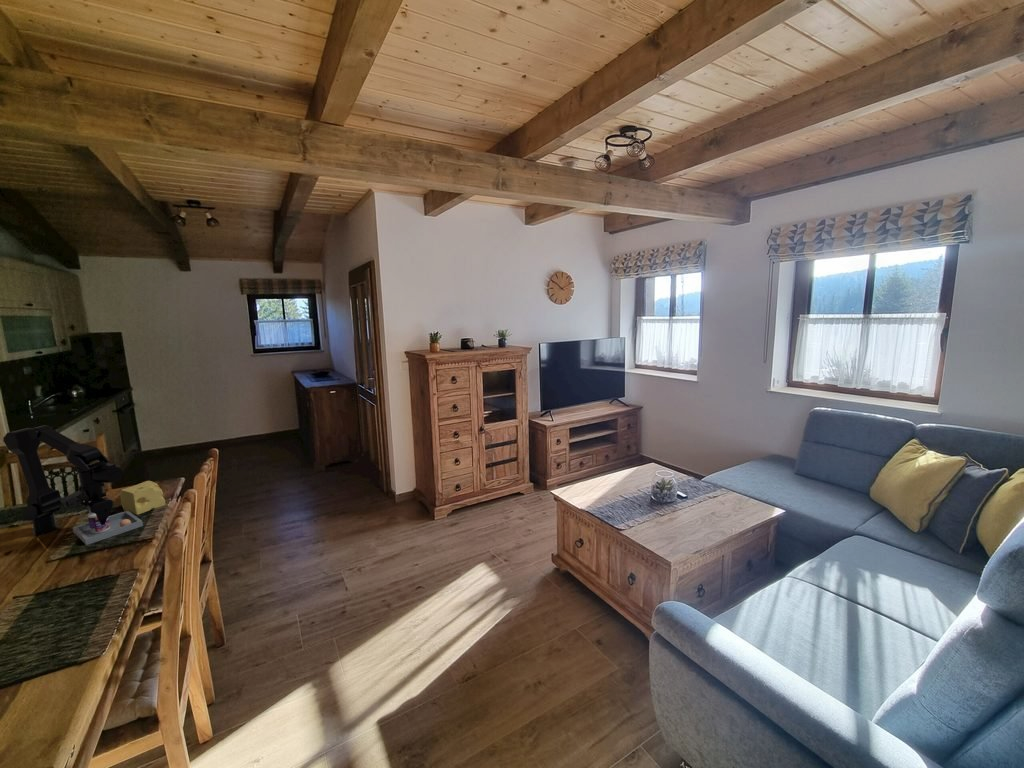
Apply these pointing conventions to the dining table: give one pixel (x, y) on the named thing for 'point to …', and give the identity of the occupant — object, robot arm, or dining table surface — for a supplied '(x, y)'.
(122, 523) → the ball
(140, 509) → the cheese
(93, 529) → the pill bottle
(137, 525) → the tray
